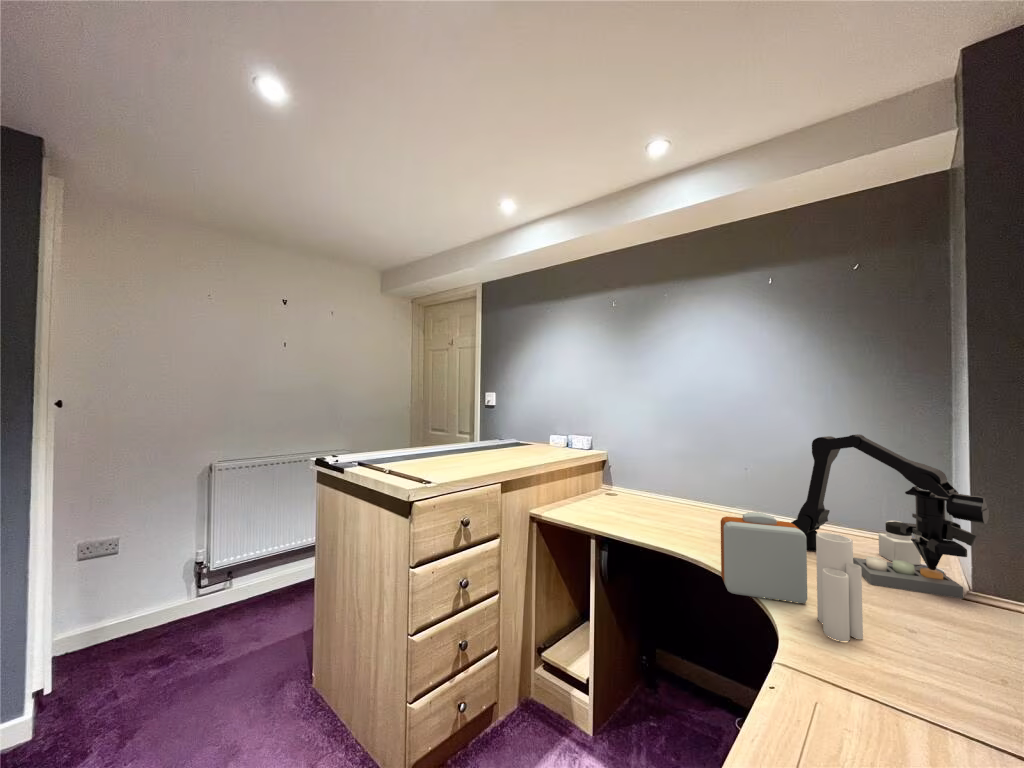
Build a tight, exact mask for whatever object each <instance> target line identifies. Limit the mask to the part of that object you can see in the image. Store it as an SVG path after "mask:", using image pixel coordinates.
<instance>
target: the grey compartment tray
mask: <svg viewBox="0 0 1024 768" xmlns="http://www.w3.org/2000/svg"><path fill="white" fill-rule="evenodd" d="M853 564H856V565H859V566H861V570H862V578H863V579H864V580H865V581H866V582H867V583H868V584H870V585H872V586H878V587H884V588H890V589H898V590H905V591H911V592H916V593H921V594H929V595H936V596H944V597H950V598H956V599H964V586H962V585H961V584H959V583H957V582H956V581H955V580H953V579H952V578H950V576H947V575H946V574H944V573H943V580H941V579H934V578H927V577H924V576H923V575H921V574H920V568H928V567H927V566H926V567H925V566H921V565H914V573H915V576H913V575H906V574H899V573H896V572H895V571H893V562H892V561H887V572H885V571H878V570H871V569H868V568H867V567H866V558H860V557H853ZM935 570H937V571H940V570H939V569H937V568H936V569H935Z"/></svg>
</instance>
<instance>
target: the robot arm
mask: <svg viewBox="0 0 1024 768" xmlns="http://www.w3.org/2000/svg"><path fill="white" fill-rule="evenodd" d="M848 448H854V449H856V450H857V451H860V452H862V453H863V454H865V455H867V456H869V457H871V458H873V459H875V460H877V461H879V462H881V463H882V464H884V465H885V466H888V467H889V468H892V469H894V470H896V471H897V472H898V473H900V474H901V475H902V476H903V478H904V479H905V480H907V481H909V482H910V483H911V484H913V485H914V486H912V487H911V488H909V489H908V490H907V491H904V494H906V495H909V496H913V497H914V496H915V497H914V498H915V500H914V501H915V513H913V512H911V516H912V518H914V519H915V523H910V522H909V523H908V522H903V524H902V525H900V532H902V533H904V534H908V533H909V532H910V533H912V535H914V537H913V538H911V541H912V542H913V543H914V545H915V546H916V548H917V550H918V551H919V553H920V557H921V558H922V560H923V562H924V563H925V565H926V567H928V568H929V569H930V570H935V569H937V567H938V564H939V563H940V560H941V559H942V556H943V555H944V556H951V557H952V556H954V557H961V558H968V548H966V547H965V546H964V545H962V544H960V543H961V542H962V543H964V544H966V546H967V545H968V546H971V547H973V545H974V543H975V540H976V538H977V537H978V535H976V534H974V533H972V532H970V531H968V530H965V529H964V528H962V527H961V525H960V524H959V523H957V522H955V521H953V520H949V519H947V518H946V513H947V514H948V515H949V516H952V518H953V519H958V520H962V521H968V522H973V523H979V524H985V525H987V524H988V522H989V518H990V517H989V515H990V508H988V504H987V502H986V497H985V496H981V495H969V494H963V493H959V492H958V490H956V488H954V487H953V486H952V485H951V483H949V482H948V478H947V475H946V473H945V472H944V471H942V470H940V469H938V468H936V467H932V466H930V465H927V464H924V463H921V462H918V461H913V460H912V459H908V458H906V457H904V456H902V455H900V454H898V453H897V452H894V451H893V450H891V449H889V448H886V447H884V446H882V445H881V444H878V443H877V442H875V441H873V440H871V439H869V438H867V437H866V436H864V435H863V434H850V435H849V436H842V437H841V436H840V437H834V436H832V435H831V436H819V437H817V438H814V439H813V440H812V441H811V455H812V458H813V467H812V472H811V476H810V482H809V487H808V492H807V495H806V496H807V497H806V500H805V502H804V503H803V505H802V506H801V508H800V510H799V512H798V514H797V516H796V517H797V518H796V519H795V520H793V521H791V522H790V523H792V524H794V525H795V526H797V527H798V528H799V529H800V530H801V531H802V532H803V533H804V534H805V536H806V545H807V551H810V552H811V551H812V552H816V534H817V533H818V531H817V530H819V529H820V528H821V526H824V525H825V524H826V522H829V517H828V516H829V514H830V510H829V509H826V508H825V505H824V504H825V503H824V502H825V498H826V494H827V493H826V492H827V487H828V483H829V482H828V481H829V477H830V474H831V473H830V472H831V468H832V464H833V462H834V461H835V460H836V459H837V457H838V455H839V453H840V450H841V449H842V450H843V449H848ZM953 539H954V540H953ZM955 540H956V541H958V542H960V543H958V542H956V541H955Z"/></svg>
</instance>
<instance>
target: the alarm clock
mask: <svg viewBox="0 0 1024 768" xmlns="http://www.w3.org/2000/svg"><path fill="white" fill-rule="evenodd" d="M807 551H808V550H807V545H806V536H805V534H804V533H803V532H802V531H801V530H800V529H799V528H798V527H797V526H795V525H794V524H792V523H791V522H789V521H779V520H777V519H776V518H775V517H774V516H771V515H769V514H766V513H763V512H757V511H756V512H755V511H753V512H747V513H743V514H742V517H737V516H736V517H735V516H729V515H728V516H724V517H722V518H721V519H720V566H721V567H720V571H721V572H720V575H721V578H722V581H723V583H724V585H725V588H726V589H727V592H729V593H731V594H733V595H734V594H735V595H740V596H746V597H754V598H760V599H762V598H761V597H765V598H764V599H766V598H770V599H769V600H772V599H779V600H786V601H792V602H798V603H797V604H799V603H803V604H806V603H807V601H808V555H807V553H808V552H807ZM779 600H778V601H779ZM792 602H791V603H792Z"/></svg>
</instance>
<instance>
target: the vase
mask: <svg viewBox="0 0 1024 768" xmlns="http://www.w3.org/2000/svg"><path fill="white" fill-rule="evenodd" d="M853 544H854V543H853V539H851V538H850V537H847V536H844V535H841V534H837V533H831V532H817V534H816V551H815V553H816V597H817V598H816V599H817V601H816V602H817V603H816V604H817V611H816V612H817V621H818V620H819V621H820V622H821V623H823V625H822V627H823V628H822V629H823V630H822V631H824V632H823V634H824V633H825V634H826V635H827V636H829V637H831V638H833V639H836V640H839V641H849V640H850V639H851V637H850V636H852V637H854V638H857V639H863V640H864V625H863V621H864V620H863V618H864V617H863V584H862V583H863V582H862V580H863V576H862V570H861V566H859V565H856V564H853V558H854V545H853ZM819 621H818V622H819ZM820 622H819V623H820ZM821 623H820V624H821ZM825 634H824V635H825ZM826 635H825V636H826ZM827 636H826V637H827ZM850 641H851V640H850ZM850 641H849V642H850Z"/></svg>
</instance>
